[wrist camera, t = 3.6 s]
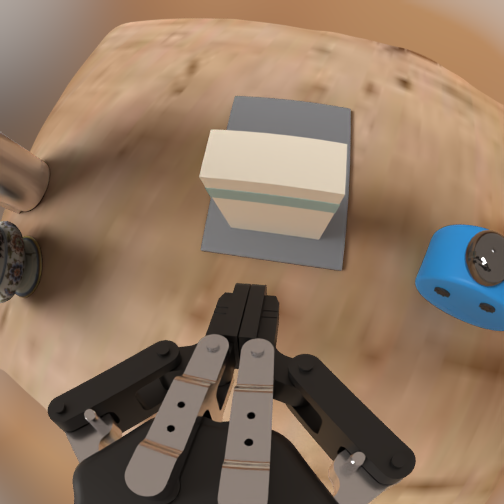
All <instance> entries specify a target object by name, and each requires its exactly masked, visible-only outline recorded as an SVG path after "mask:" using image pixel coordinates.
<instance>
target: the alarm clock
mask: <svg viewBox="0 0 504 504" xmlns="http://www.w3.org/2000/svg"><path fill="white" fill-rule="evenodd" d="M415 285H416V288H417V290H418V291H419V293H420V294H421V295H422V296H423V297H424V298H425V299H426V300H428V301H429V302H430V303H431V304H433V305H434V306H436V307H437V308H439V309H441V310H442V311H444V312H446V313H448V314H449V315H451V316H453V317H455V318H457V319H460V320H462V321H464V322H467V323H469V324H472V325H475V326H478V327H481V328H485V329H490V330H496V331H504V236H503V235H502V234H500V233H499V232H497V231H493V230H488V229H485V228H482V227H478V226H472V225H450V226H446V227H443V228H441V229H439V230H438V231H436V232H435V233H434V235H433V236H432V239H431V241H430V244H429V247H428V250H427V252H426V255H425V257H424V260H423V262H422V265H421V267H420V270H419V272H418V275H417V277H416V280H415Z"/></svg>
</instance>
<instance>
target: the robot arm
mask: <svg viewBox="0 0 504 504" xmlns="http://www.w3.org/2000/svg"><path fill="white" fill-rule="evenodd" d="M49 176H50V175H49V167H48V165H47V164H46V163H45V162H44V161H42V160H41V159H39V158H38V157H36V156H35V155H33V154H32V153H30V152H29V151H27V150H26V149H24V148H23V147H21V146H20V145H19V144H17V143H16V142H14V141H13V140H11V139H10V138H8V137H7V136H5V135H4V134H3V133H1V132H0V206H2V207H4V208H6V209H9V210H11V211H13V212H16V213H19V212H21V211H25V212H26V211H29V210H31V209H33V208H34V207H35V206H36V205H37V204H38V203H39V202H40V200H41V199H42V197H43V195H44V193H45V191H46V189H47V186H48V182H49ZM278 325H279V302H278V300H277V297H276V296H268V295H267V287H266V285H255V284H252V285H251V284H241V283H236V285H235V288H234V291H233V293H224V294H223V295H222V296H221V297H220V298H219V300H218V302H217V305H216V308H215V311H214V314H213V316H212V319H211V322H210V325H209V327H208V330H207V333H206V336H205V337H203V338H202V339H201V340H200V341H199V342H198V343H197V344H195V345H192V346H185V347H178V346H177V345H176V344H175V343H174V342H172V341H168V340H164V341H159V342H157V343H155V344H153V345H151V346H150V347H148V348H146V349H144V350H143V351H141V352H139V353H137V354H135V355H134V356H132V357H130V358H128V359H126V360H125V361H123V362H121V363H119V364H117V365H116V366H114V367H112V368H110V369H108V370H107V371H105V372H103V373H101V374H99V375H97V376H96V377H94V378H92V379H90V380H88V381H86V382H84V383H83V384H81V385H79V386H77V387H75V388H73V389H71V390H69V391H67V392H66V393H64V394H62V395H60V396H58V397H56V398H54V399H53V400H52V401H51V403H50V404H49V407H48V414H49V417H50V419H51V420H52V421H53V422H55V423H56V424H57V425H58V426H59V427H60V428H61V429H62V430H63V431H64V432H65V433H66V435H67V438H68V440H69V442H70V444H71V446H72V448H73V451H74V453H75V455H76V457H77V459H78V461H79V465H78V466H77V467H76V470H75V472H74V475H73V489H74V504H368V503H369V502H371V501H372V500H373V499H374V498H376V497H377V496H378V495H379V494H380V493H382V492H383V491H385V490H387V489H389V488H391V487H392V486H394V485H395V484H397V483H398V482H400V481H401V480H402V479H403V478H404V477H406V476H407V475H409V474H410V473H411V472H412V470H413V469H414V466H415V462H416V460H415V455H414V453H413V451H412V450H411V449H410V448H409V447H408V446H407V445H406V444H405V443H403V442H402V441H401V440H400V439H399V438H398V437H397V436H396V435H395V434H394V433H393V432H392V431H391V430H390V429H389V428H388V427H387V426H386V425H385V424H384V423H383V422H382V421H381V420H380V419H379V418H378V417H376V416H375V415H374V414H373V413H372V412H371V411H370V410H369V409H368V408H367V407H366V406H365V405H364V404H363V403H362V402H361V401H360V400H359V399H358V398H357V397H356V396H355V395H354V394H353V393H352V392H351V391H350V390H349V389H348V388H347V387H346V386H345V385H344V384H343V383H342V382H341V381H340V380H339V379H338V378H337V377H336V376H335V375H334V374H333V373H332V372H331V371H330V370H329V369H328V368H327V367H326V366H325V365H324V364H323V363H322V362H321V361H320V360H319V359H318V358H317V357H315V356H313V355H310V354H301V355H298V356H296V357H294V358H290V357H287V356H285V355H283V354H281V353H280V352H279V351H278V350H277V349H276V342H277V333H278ZM234 369H239V371H238V379H237V386H235V388H234V393H233V400H232V407H231V415H230V421H228V422H222V419H223V413H224V410H225V407H226V404H227V401H228V398H229V395H230V392H231V389H232V386H233V383H234V377H233V373H234ZM273 399H275V400H278V401H281V402H283V403H286V405H287V407H288V408H289V409H290V411H291V412H292V413H293V414H294V416H295V417H296V418H297V419H298V420H299V422H300V423H301V424H302V425H303V426H304V428H305V429H306V430H307V431H308V432H309V434H310V435H311V436H312V437H313V438H314V439H315V441H316V442H317V443H318V444H319V445H320V446H321V448H322V449H323V450H324V451H325V452H326V453H327V454H328V456H329V457H330V458H331V459H332V460H333V463H332V464H331V466H330V468H329V471H328V475H329V479H330V480H331V482H332V484H333V487H334V492H333V495H332V494H331V493H330V492H329V491H328V489H327V488H326V487H325V486H324V484H323V483H322V482H321V481H320V479H319V478H318V477H317V475H316V474H315V473H314V472H313V470H312V469H311V468H310V466H309V465H308V464H307V462H306V461H305V460H304V458H303V457H302V456H301V454H300V453H299V452H298V450H297V449H296V448H295V446H294V445H293V444H292V443H291V442H290V441H289V440H288V439H287V438H286V437H284V436H283V435H281V434H280V433H278V432H276V431H274V430H271V429H272V405H273ZM157 412H158V413H157ZM155 413H157V415H156V417H155V418H152V419H150V420H148V421H147V422H145V423H144V424H142V425H141V426H139V427H137V428H136V429H134V430H133V431H131V432H129V433H128V434H126V435H125V436H123V437H122V433H123V432H125V431H126V430H128V429H130V428H131V427H133V426H135V425H137V424H138V423H140V422H142V421H143V420H145V419H147V418H148V417H150V416H152V415H153V414H155Z"/></svg>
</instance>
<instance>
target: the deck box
mask: <svg viewBox="0 0 504 504" xmlns="http://www.w3.org/2000/svg"><path fill="white" fill-rule="evenodd" d="M346 163H347V144H343V143H338V142H331V141H325V140H319V139H312V138H304V137H297V136H288V135H279V134H270V133H259V132H247V131H232V130H213V129H211V132H210V135H209V139H208V143H207V147H206V151H205V155H204V159H203V163H202V167H201V171H200V175H199V178H200V179H201V181H202V182H203V184H204V186H205V189H206V190H207V192H208V194H209V195H210V197H212V198H213V200H214V201H215V203H216V205H217V206H218V208H219V209H220V211H221V213H222V214H223V216H224V217H225V219H226V220H227V222H228V224H229V225H230V227H231V228H238V229H246V230H253V231H261V232H268V233H275V234H282V235H290V236H297V237H304V238H311V239H318V240H319V239H320V237H321V236H322V234H323V232H324V230H325V229H326V227H327V225H328V223H329V222H330V220H331V218H332V217H333V215H334V213H336V211H337V210H338V208H339V206H340V202H341V201H342V199H343V197H344V195H345V185H346Z"/></svg>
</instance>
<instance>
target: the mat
mask: <svg viewBox="0 0 504 504" xmlns="http://www.w3.org/2000/svg"><path fill="white" fill-rule="evenodd" d="M227 130H232V131H247V132H259V133H270V134H279V135H288V136H297V137H304V138H312V139H319V140H325V141H331V142H338V143H343V144H347V163H346V185H345V195H344V197H343V199H342V201H341V202H340V206H339V208H338V210H337V211H336V213H334V215H333V217H332V218H331V220H330V222H329V223H328V225H327V227H326V229H325V230H324V232H323V234H322V236H321V237H320V239H319V240H318V239H311V238H304V237H297V236H290V235H282V234H275V233H268V232H261V231H253V230H246V229H238V228H231V227H230V225H229V224H228V222H227V220H226V219H225V217H224V216H223V214H222V213H221V211H220V209H219V208H218V206H217V205H216V203H215V201H214V200H213V198H212V197H211V200H210V205H209V210H208V215H207V220H206V225H205V230H204V235H203V240H202V245H201V251H207V252H214V253H221V254H228V255H234V256H241V257H248V258H255V259H262V260H269V261H276V262H283V263H290V264H297V265H304V266H311V267H318V268H325V269H332V270H339V271H341V270H342V265H343V255H344V246H345V235H346V223H347V210H348V194H349V174H350V138H351V109H349V108H343V107H337V106H331V105H325V104H318V103H311V102H303V101H295V100H285V99H275V98H262V97H246V96H235V98H234V102H233V106H232V110H231V114H230V118H229V122H228V126H227Z"/></svg>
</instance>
